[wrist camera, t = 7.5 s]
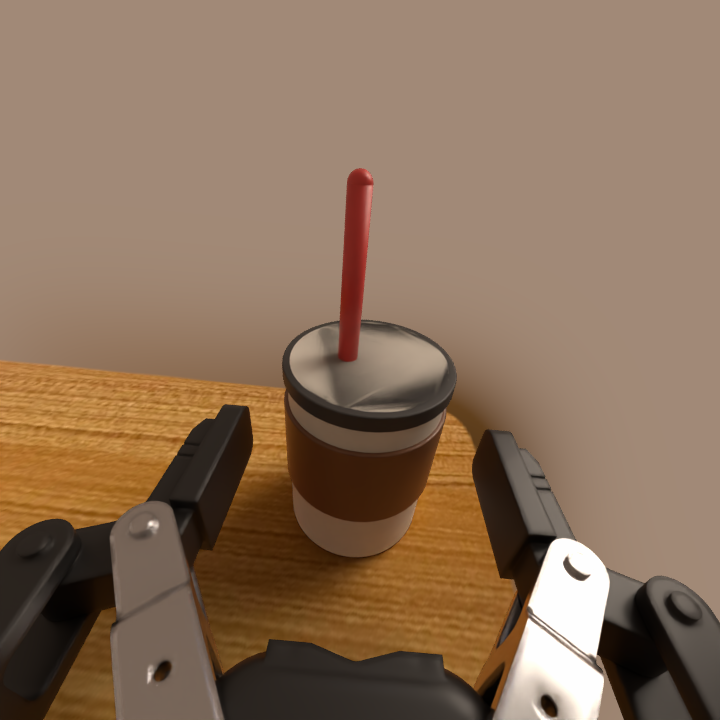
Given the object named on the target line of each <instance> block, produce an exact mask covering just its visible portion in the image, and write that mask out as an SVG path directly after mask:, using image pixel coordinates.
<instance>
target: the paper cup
mask: <svg viewBox="0 0 720 720" xmlns="http://www.w3.org/2000/svg"><path fill="white" fill-rule="evenodd" d="M372 193H373V178H372V176H371V174H370V173H369V172H368V171H367V170H365V169H361V168H359V169H355V170H354V171H352V172H351V173H350V175H349V177H348V180H347V195H346V214H345V232H344V251H343V270H342V288H341V307H340V321H335V322H330V323H325V324H322V325H319V326H316V327H313V328H311V329H308V330H306V331H304V332H303V333H301V334H300V335H298V336H297V337H296V338H295V339H294V340H292V341H291V343H290V344H289V345H288V347H287V348H286V350H285V353H284V355H283V362H282V368H283V380H284V384H285V387H286V391H285V397H284V405H285V423H286V442H287V460H288V470H289V474H290V477H291V480H292V488H293V506H294V512H295V515H296V519H297V521H298V523H299V525H300V527H301V528H302V530H303V531H304V533H305V534H306V535H307V536H308V537H309V538H310V539H311V540H312V541H313V542H314V543H315V544H317V545H318V546H320V547H321V548H323V549H325V550H327V551H329V552H331V553H334V554H337V555H341V556H347V557H366V556H371V555H375V554H378V553H380V552H383V551H385V550H387V549H388V548H390V547H392V546H393V545H394V544H396V543H397V542H398V541H399V540H400V539H401V538H402V537H403V536H404V534H405V533H406V531H407V530H408V528H409V526H410V524H411V521H412V518H413V514H414V511H415V507H416V504H417V500H418V498H419V496H420V495H421V493H422V492H423V490H424V488H425V486H426V483H427V479H428V476H429V473H430V469H431V466H432V462H433V459H434V456H435V452H436V449H437V446H438V442H439V439H440V435H441V432H442V429H443V425H444V422H445V418H446V407H447V406H448V404H449V402H450V400H451V398H452V395H453V392H454V388H455V384H456V378H457V374H456V369H455V366H454V363H453V362H452V359H451V358H450V357H449V355H448V354H447V353H446V351H445V350H444V349H443V348H442V347H440V346H439V345H438V344H437V343H435V342H434V341H432V340H431V339H430V338H428V337H426V336H424V335H422V334H420V333H418V332H416V331H414V330H411V329H408V328H405V327H402V326H399V325H395V324H391V323H386V322H380V321H373V320H361V314H362V303H363V292H364V280H365V270H366V258H367V248H368V237H369V227H370V216H371V204H372Z"/></svg>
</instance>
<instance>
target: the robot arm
mask: <svg viewBox="0 0 720 720" xmlns="http://www.w3.org/2000/svg"><path fill="white" fill-rule="evenodd" d="M252 447H253V434H252V427H251V419H250V412H249V408H248V407H247V406H238V405H227V404H225V405H223V406H222V408H221V410H220V411H219V413H218V415H217V416H216V418H215V419H207V418H206V419H205V420H203V421H202V422H201V423H200V424H198V425H197V426H196V427H195V428H193V429H192V431H191V432H190V434H189V436H188V437H187V439H186V440H185V442H184V445H182V447H181V448H180V450H179V451H178V454H177V456H175V458H174V459H173V461H172V462H171V464H170V465H169V467H168V469H167V470H166V472H165V473H164V475H163V476H162V478H161V480H160V481H159V483H158V484H157V486H156V487H155V489H154V491H153V492H152V494H151V495H150V497H149V498H148V499H147V501H146V502H144V503H142V504H139V505H137V506H135V507H133V508H131V509H130V510H128V511H127V512H125V513H124V514H123V515H122V516H121V517H120V518H119V519H118V520H117V521H114V522H110V523H105V524H100V525H95V526H90V527H86V528H81V529H76V530H75V529H74V528H73V527H72V525H71V524H70V523H69V522H68V521H66V520H63V519H50V520H45V521H42V522H39V523H36V524H34V525H32V526H30V527H28V528H26V529H25V530H23V531H21V532H20V533H19V534H17V535H16V536H15V537H13V538H12V539H11V540H10V541H9V542H8V543H7V544H6V545H5V546H4V547H3V549H2V550H1V551H0V720H43V719H44V717H45V715H46V713H47V712H48V710H49V708H50V706H51V704H52V702H53V700H54V698H55V697H56V695H57V693H58V691H59V689H60V687H61V685H62V683H63V681H64V680H65V678H66V676H67V674H68V672H69V670H70V668H71V666H72V665H73V663H74V661H75V659H76V657H77V655H78V653H79V651H80V649H81V648H82V646H83V644H84V642H85V640H86V638H87V636H88V634H89V633H90V631H91V629H92V627H93V625H94V623H95V621H96V619H97V618H98V616H99V614H100V612H101V610H105V609H108V608H112V607H116V613H117V617H116V622H114V623H113V624H112V626H111V632H110V642H111V656H112V669H113V682H114V695H115V708H116V720H598V715H599V709H600V702H601V696H602V690H603V681H604V678H603V671H602V669H601V668H600V667H599V666H598V665H597V664H596V655H599V656H600V657H601V660H602V663H603V665H604V668H605V670H606V673H607V676H608V678H609V681H610V684H611V686H612V689H613V692H614V694H615V697H616V700H617V702H618V705H619V708H620V710H621V713H622V716H623V718H624V720H720V623H719V621H718V619H717V618H716V616H715V615H714V613H713V612H712V610H711V609H710V608H709V606H708V605H707V604H706V603H705V602H704V601H703V600H702V599H701V598H700V597H699V596H698V595H697V594H696V593H695V592H694V591H693V590H691V589H690V588H688V587H687V586H686V585H684V584H682V583H681V582H679V581H677V580H675V579H672V578H669V577H665V576H655V577H653V578H651V579H649V580H648V581H647V582H646V583H642V582H640V581H637V580H635V579H632V578H630V577H627V576H625V575H622V574H620V573H617V572H615V571H612V570H610V569H608V568H606V567H604V565H603V563H602V562H601V560H600V559H599V558H598V557H597V556H596V555H595V554H594V553H593V552H592V551H591V550H590V549H588V548H587V547H586V546H584V545H582V544H581V543H579V542H577V541H576V539H575V537H574V535H573V533H572V531H571V529H570V527H569V525H568V522H567V521H566V519H565V516H564V514H563V512H562V510H561V508H560V506H559V504H558V502H557V500H556V498H555V496H554V494H553V492H551V487H550V485H549V483H548V481H547V480H546V479H545V475H544V473H543V471H542V469H541V467H540V465H539V463H538V461H537V460H536V459H535V458H534V457H533V456H532V455H531V454H530V453H529V452H528V451H527V450H526V449H521V448H518V446H517V443H516V441H515V439H514V437H513V435H512V433H511V432H508V431H498V430H485V432H484V434H483V436H482V439H481V441H480V444H479V446H478V449H477V451H476V454H475V456H474V459H473V464H472V474H473V479H474V483H475V487H476V490H477V494H478V498H479V502H480V505H481V509H482V513H483V516H484V520H485V524H486V527H487V531H488V535H489V538H490V542H491V546H492V549H493V553H494V557H495V560H496V564H497V568H498V571H499V575H500V578H504V579H514V581H515V584H516V587H517V591H516V593H515V594H514V597H513V599H512V602H511V604H510V607H509V609H508V612H507V614H506V617H505V619H504V621H503V624H502V626H501V629H500V631H499V634H498V636H497V639H496V641H495V644H494V646H493V649H492V651H491V653H490V655H489V657H488V659H487V661H486V663H485V665H484V666H483V668H482V670H481V672H480V674H479V676H478V678H477V681H476V683H475V685H474V688H472V687H471V686H470V685H469V684H467V683H466V682H465V681H464V680H462V679H461V678H460V677H458V676H457V675H455V674H454V673H452V672H450V671H449V670H446V669H444V666H443V657H442V655H438V654H427V653H416V652H405V651H398V652H394V653H390V654H386V655H382V656H378V657H374V658H370V659H366V660H362V661H351V660H349V659H346V658H344V657H342V656H340V655H337V654H335V653H333V652H331V651H328V650H326V649H324V648H322V647H319V646H317V645H315V644H313V643H306V642H295V641H284V640H273V639H269V642H268V646H267V651H266V652H262V653H258V654H256V655H253V656H251V657H248V658H247V659H245V660H243V661H241V662H239V663H238V664H236V665H235V666H233V667H232V668H231V669H229V670H228V671H226V672H225V673H224V671H223V668H222V664H221V660H220V657H219V653H218V650H217V647H216V643H215V640H214V637H213V634H212V631H211V627H210V624H209V620H208V616H207V613H206V609H205V605H204V602H203V598H202V594H201V591H200V587H199V583H198V579H197V576H196V572H195V568H194V565H193V564H194V561H195V559H196V557H197V554H198V552H199V550H200V549H203V550H213V547H214V545H215V542H216V540H217V537H218V535H219V532H220V530H221V527H222V525H223V522H224V520H225V517H226V515H227V512H228V510H229V508H230V505H231V503H232V500H233V498H234V495H235V493H236V490H237V488H238V485H239V483H240V480H241V478H242V475H243V473H244V470H245V468H246V465H247V463H248V461H249V458H250V455H251V452H252Z"/></svg>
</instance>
